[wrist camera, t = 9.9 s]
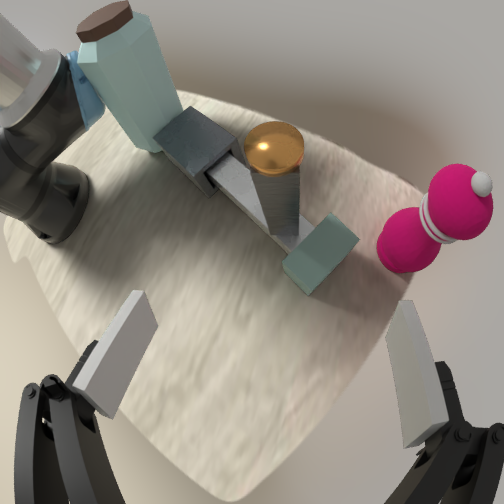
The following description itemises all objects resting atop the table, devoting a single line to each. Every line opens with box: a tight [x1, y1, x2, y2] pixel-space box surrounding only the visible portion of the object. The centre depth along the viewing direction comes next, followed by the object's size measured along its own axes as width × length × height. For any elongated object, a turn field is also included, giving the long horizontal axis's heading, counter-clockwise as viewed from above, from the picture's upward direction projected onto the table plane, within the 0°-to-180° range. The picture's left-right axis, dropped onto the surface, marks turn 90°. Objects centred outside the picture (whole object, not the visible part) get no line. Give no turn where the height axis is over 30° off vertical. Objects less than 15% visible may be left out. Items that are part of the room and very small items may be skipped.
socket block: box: [282, 213, 360, 296], centre depth 29 cm, size 4×7×7 cm, turn 134°
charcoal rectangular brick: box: [153, 106, 246, 198], centre depth 35 cm, size 10×7×6 cm
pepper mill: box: [377, 164, 493, 273], centre depth 22 cm, size 7×7×20 cm
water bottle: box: [76, 0, 183, 153], centre depth 29 cm, size 10×10×25 cm
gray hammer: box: [205, 121, 315, 255], centre depth 25 cm, size 18×4×18 cm, turn 44°
